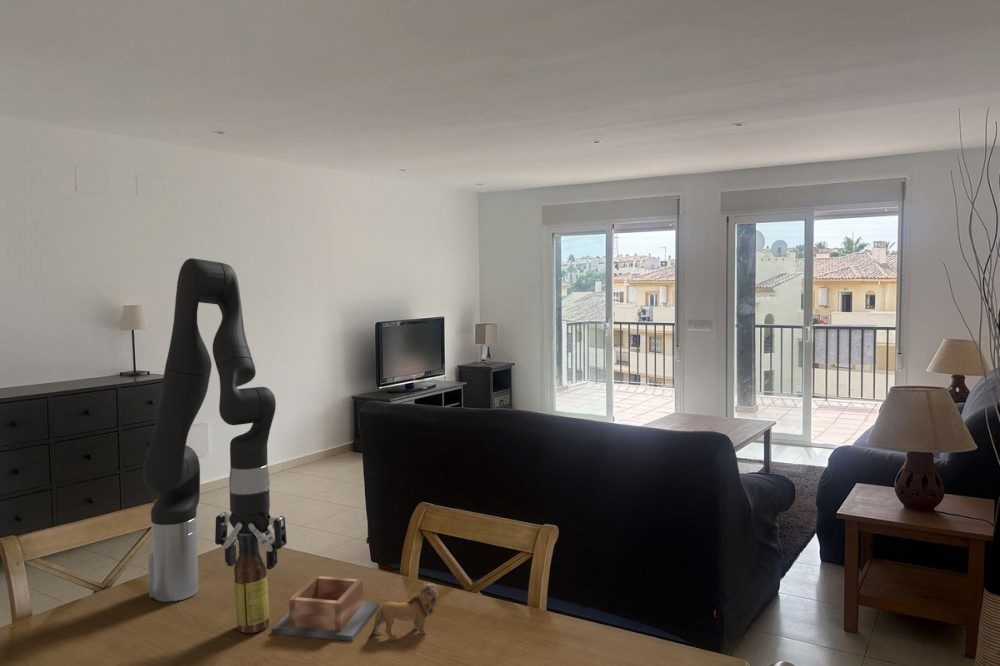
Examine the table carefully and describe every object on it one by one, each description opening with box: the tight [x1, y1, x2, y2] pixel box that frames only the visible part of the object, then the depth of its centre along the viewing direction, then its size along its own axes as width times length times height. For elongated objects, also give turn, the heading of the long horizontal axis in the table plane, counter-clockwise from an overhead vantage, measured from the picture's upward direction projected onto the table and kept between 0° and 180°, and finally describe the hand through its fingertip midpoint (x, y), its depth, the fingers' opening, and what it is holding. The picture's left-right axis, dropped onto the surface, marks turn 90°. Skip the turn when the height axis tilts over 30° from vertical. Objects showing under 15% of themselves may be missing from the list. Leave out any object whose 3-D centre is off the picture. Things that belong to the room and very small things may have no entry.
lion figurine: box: [367, 582, 440, 641], centre depth 143 cm, size 15×5×9 cm, turn 117°
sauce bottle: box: [233, 533, 270, 634], centre depth 145 cm, size 7×6×20 cm
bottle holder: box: [271, 575, 380, 642], centre depth 149 cm, size 17×15×6 cm
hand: (251, 566), depth 145 cm, fingers open, 8 cm apart
